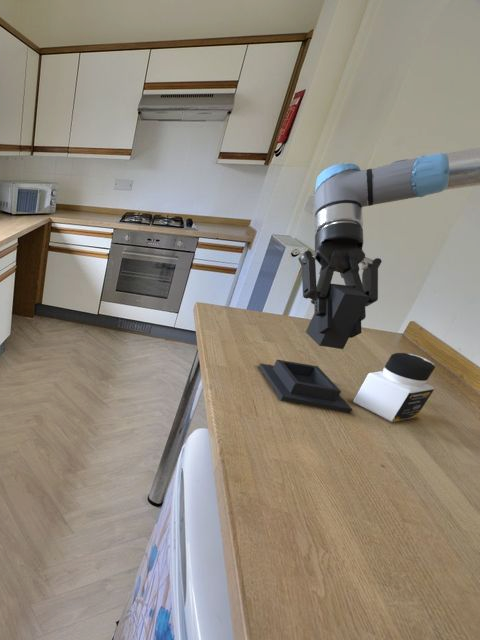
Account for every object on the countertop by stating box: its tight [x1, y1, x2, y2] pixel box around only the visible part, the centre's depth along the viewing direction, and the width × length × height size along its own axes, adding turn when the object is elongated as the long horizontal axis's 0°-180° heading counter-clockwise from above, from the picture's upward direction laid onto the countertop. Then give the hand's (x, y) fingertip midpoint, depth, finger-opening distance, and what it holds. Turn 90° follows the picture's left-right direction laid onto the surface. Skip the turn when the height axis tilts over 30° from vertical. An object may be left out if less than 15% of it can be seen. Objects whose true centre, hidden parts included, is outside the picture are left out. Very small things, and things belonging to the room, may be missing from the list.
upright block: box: [305, 283, 370, 350], centre depth 82 cm, size 4×7×11 cm, turn 162°
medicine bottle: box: [353, 352, 436, 423], centre depth 80 cm, size 7×7×12 cm
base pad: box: [258, 359, 353, 414], centre depth 88 cm, size 12×15×4 cm
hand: (339, 332), depth 79 cm, fingers closed on upright block, 4 cm apart
